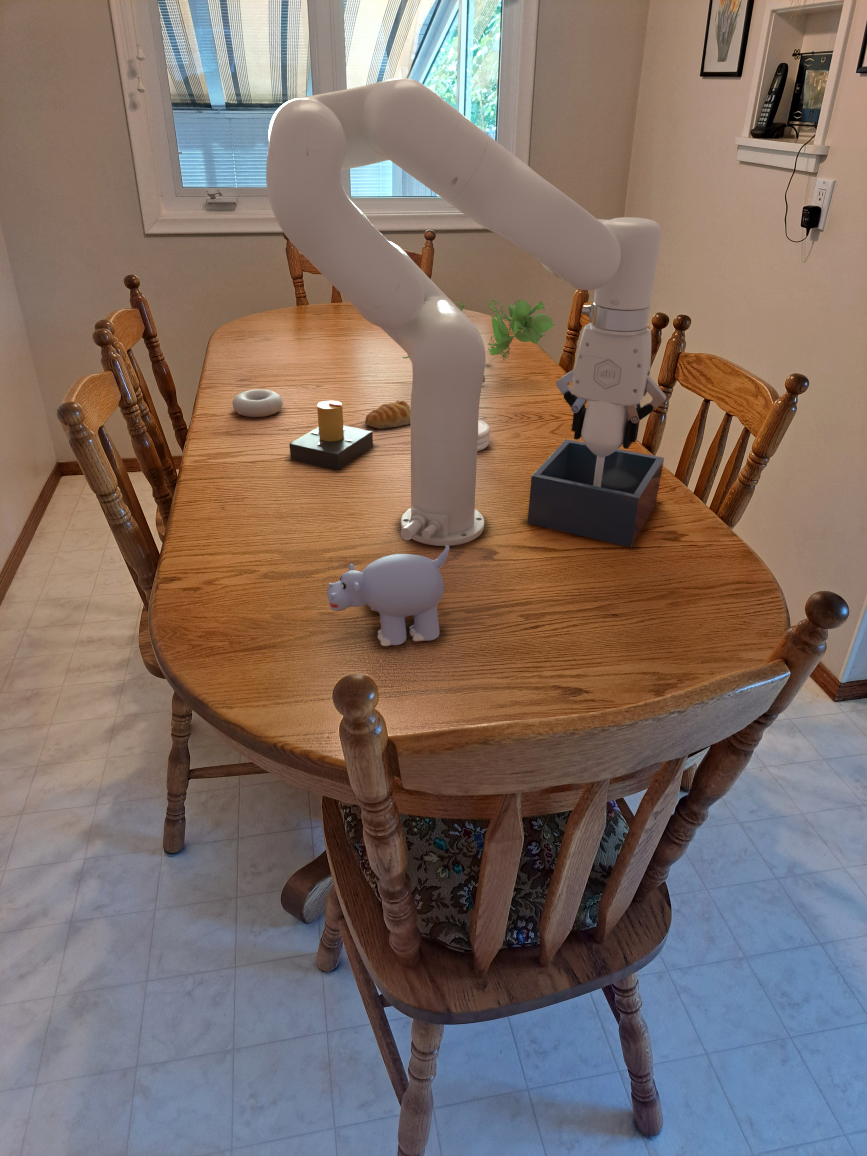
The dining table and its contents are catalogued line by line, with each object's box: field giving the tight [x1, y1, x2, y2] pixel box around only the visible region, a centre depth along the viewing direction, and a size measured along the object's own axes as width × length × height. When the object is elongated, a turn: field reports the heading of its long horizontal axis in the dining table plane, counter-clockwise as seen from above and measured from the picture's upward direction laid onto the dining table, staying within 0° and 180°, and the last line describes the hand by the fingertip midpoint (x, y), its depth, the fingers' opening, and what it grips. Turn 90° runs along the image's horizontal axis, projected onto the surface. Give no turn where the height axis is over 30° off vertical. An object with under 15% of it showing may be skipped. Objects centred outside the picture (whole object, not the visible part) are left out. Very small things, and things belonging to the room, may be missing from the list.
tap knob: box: [316, 400, 344, 442], centre depth 138 cm, size 4×4×6 cm
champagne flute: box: [581, 400, 629, 487], centre depth 115 cm, size 7×7×24 cm
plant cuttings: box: [402, 299, 555, 385], centre depth 174 cm, size 35×17×22 cm
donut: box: [232, 388, 283, 418], centre depth 158 cm, size 10×4×10 cm
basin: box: [527, 439, 665, 548], centre depth 120 cm, size 16×16×8 cm
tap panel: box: [288, 424, 374, 471], centre depth 140 cm, size 12×10×3 cm
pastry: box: [364, 400, 411, 430], centre depth 153 cm, size 9×7×4 cm
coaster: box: [477, 419, 491, 452], centre depth 144 cm, size 10×10×4 cm
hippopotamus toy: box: [326, 545, 451, 647], centre depth 94 cm, size 11×15×10 cm
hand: (603, 440), depth 115 cm, fingers closed on champagne flute, 6 cm apart
